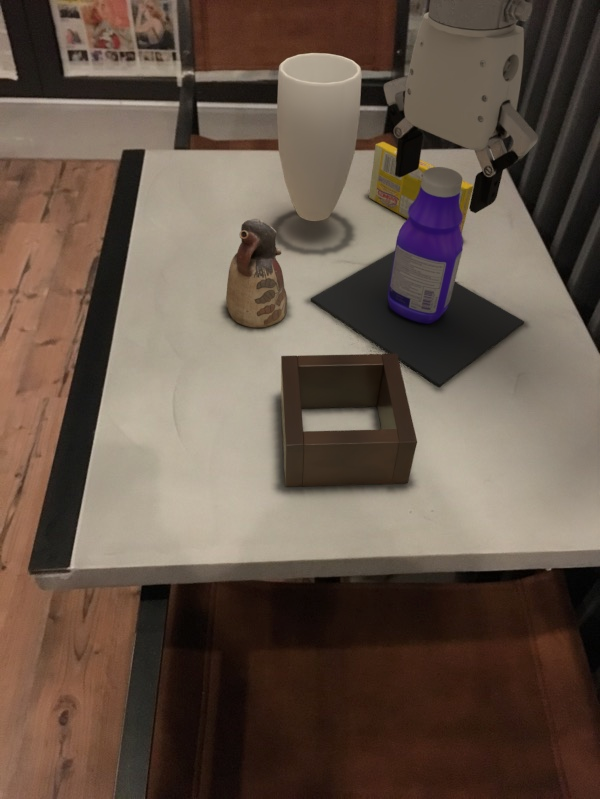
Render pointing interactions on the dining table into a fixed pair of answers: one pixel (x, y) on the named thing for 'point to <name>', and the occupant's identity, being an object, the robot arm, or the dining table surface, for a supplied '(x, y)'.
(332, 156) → the cup
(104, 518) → the dining table surface
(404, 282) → the bottle
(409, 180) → the candy box
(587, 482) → the dining table surface
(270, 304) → the figurine
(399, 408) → the holder
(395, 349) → the mat
